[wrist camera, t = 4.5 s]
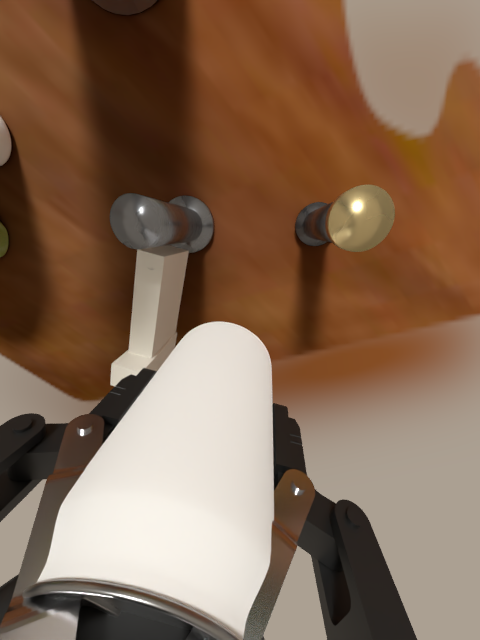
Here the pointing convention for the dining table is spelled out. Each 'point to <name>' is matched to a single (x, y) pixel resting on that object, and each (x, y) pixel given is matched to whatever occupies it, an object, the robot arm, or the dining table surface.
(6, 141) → the white tapered cup
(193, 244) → the hinge post
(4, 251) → the plant pot
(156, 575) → the can
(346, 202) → the post
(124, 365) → the gate
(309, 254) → the dining table surface
